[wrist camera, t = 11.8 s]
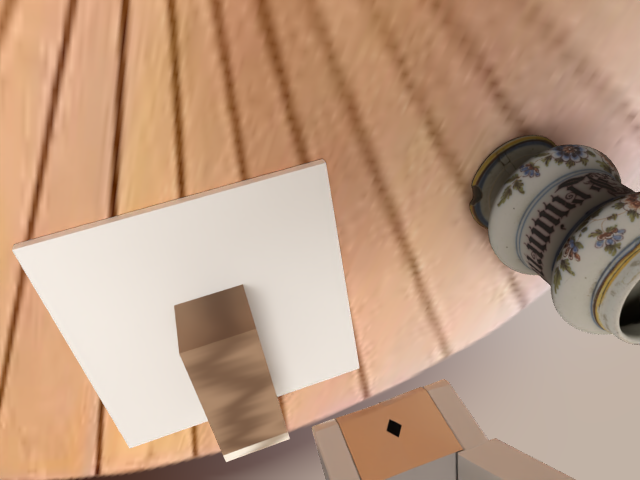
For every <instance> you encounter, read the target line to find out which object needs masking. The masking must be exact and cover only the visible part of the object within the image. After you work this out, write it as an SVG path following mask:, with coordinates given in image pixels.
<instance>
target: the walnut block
mask: <svg viewBox="0 0 640 480" xmlns="http://www.w3.org/2000/svg"><path fill="white" fill-rule="evenodd" d="M174 310H175V320H176V329H177V338H178V348H179V355H180V357H181V359H182V361H183V364H184V366H185V368H186V371H187V373H188V375H189V378H190V380H191V382H192V385H193V387H194V389H195V391H196V394H197V396H198V398H199V401H200V403H201V405H202V408H203V410H204V412H205V415H206V417H207V419H208V421H209V424H210V426H211V428H212V431H213V433H214V435H215V438H216V440H217V442H218V445H219V447H220V449H221V451H222V454H223V456H224V458H225V460H226V462H228V461H230V460H233V459H236V458H238V457H241V456H244V455H247V454H249V453H252V452H255V451H258V450H261V449H263V448H266V447H269V446H271V445H274V444H277V443H280V442H283V441H285V440H288V439H289V435H288V431H287V428H286V425H285V421H284V418H283V415H282V412H281V408H280V405H279V402H278V398H277V395H276V392H275V388H274V385H273V382H272V378H271V375H270V372H269V369H268V365H267V362H266V359H265V355H264V352H263V349H262V346H261V342H260V339H259V336H258V332H257V329H256V326H255V323H254V319H253V316H252V313H251V310H250V306H249V303H248V300H247V296H246V293H245V290H244V287H243V284H242V285H239V286H235V287H232V288H229V289H226V290H223V291H219V292H216V293H213V294H210V295H206V296H203V297H200V298H197V299H193V300H190V301H187V302H184V303H181V304H177V305H174Z"/></svg>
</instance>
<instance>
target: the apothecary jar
mask: <svg viewBox="0 0 640 480" xmlns="http://www.w3.org/2000/svg"><path fill="white" fill-rule="evenodd" d="M472 188H473V193H474V197H473V200H472V201H471V202H470V210H471V213H472V215H473V217H474V219H475V220H476V222H477V223H479V224H480V225H481V226H483V227H485V228H487V229H488V234H489V240H490V243H491V246H492V248H493V250H494V252H495V254H496V255H497V257H498V258H499V259H500V260H501V261H502V262H503V263H504V264H505V265H506V266H508V267H509V268H511V269H513V270H515V271H517V272H520V273H523V274H529V275H539V276H541V277H542V278H543V279H544V280H545V281H546V282H547V283H548V284H549V285H550V286H551V294H552V299H553V303H554V306H555V308H556V310H557V312H558V313H559V314H560V316H561V317H562V318H563V319H564V320H565V321H566V322H567V323H568V324H569V325H571V326H573V327H574V328H576V329H578V330H581V331H584V332H587V333H591V334H613V335H615V336H616V337H617V338H619V339H620V340H622V341H624V342H626V343H630V344H636V345H638V344H640V192H634V191H633V190H631V189H630V188H628V187H626V186H624V185H623V184H621V179H620V176H619V173H618V170H617V169H616V167H615V165H614V164H613V163H612V162H611V160H610V159H609V158H608V157H607V156H606V155H604V154H603V153H601V152H600V151H598V150H596V149H593V148H590V147H587V146H583V145H561V146H556V145H555V144H554V143H553V142H552V141H551V140H549V139H547V138H545V137H542V136H537V135H530V136H523V137H519V138H516V139H513V140H511V141H509V142H507V143H505V144H504V145H502V146H501V147H499V148H498V149H496V150H495V151H494V152H493V153H492V154H491V155H490V156H489V157H488V158H487V159H486V160H485V161H484V162H483V164H482V165H481V167H480V168H479V170H478V171H477V173H476V175H475V178H474V180H473V182H472Z"/></svg>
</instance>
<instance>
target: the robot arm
mask: <svg viewBox="0 0 640 480" xmlns="http://www.w3.org/2000/svg"><path fill="white" fill-rule="evenodd" d="M312 431H313V435H314V438H315V443H316V446H317V451H318V455H319V458H320V462H321V465H322V469H323V472H324V475H325V479H326V480H575V479H574V478H572V477H570V476H568V475H566V474H564V473H562V472H560V471H558V470H556V469H554V468H552V467H550V466H548V465H547V464H545V463H543V462H541V461H539V460H537V459H535V458H533V457H531V456H529V455H527V454H525V453H523V452H521V451H519V450H517V449H515V448H514V447H512V446H510V445H507V444H506V443H504V442H502V441H500V440H498V439H496V438H495V439H492V440H488V438H487V437H486V435H485V434H484V432H483V431H482V429H481V428H480V427H479V425H478V424H477V422H476V421H475V419H474V418H473V416H472V415H471V413H470V412H469V410H468V409H467V408H466V406H465V405H464V403H463V402H462V400H461V399H460V397H459V396H458V395H457V393H456V392H455V390H454V389H453V387H452V386H451V384H450V383H449V382H448V381H446V380H445V379H443V380H440V381H437V382H435V383H432V384H430V385H427V386H424V387H419V388H417V389H414V390H411V391H409V392H406V393H403V394H401V395H398V396H396V397H393V398H390V399H388V400H385V401H383V402H380V403H379V404H377V405H374V406H371V407H368V408H365V409H362V410H359V411H356V412H353V413H350V414H347V415H344V416H341V417H338V418H336V419H332V420H329V421H327V422H324V423H321V424H318V425H315V426H313V427H312Z"/></svg>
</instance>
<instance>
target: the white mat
mask: <svg viewBox="0 0 640 480" xmlns="http://www.w3.org/2000/svg"><path fill="white" fill-rule="evenodd" d="M12 251H13V253H14V254H15V256H16V258H17V259H18V261H19V263H20V264H21V266H22V268H23V269H24V271H25V273H26V274H27V276H28V278H29V279H30V281H31V283H32V285H33V286H34V288H35V290H36V291H37V293H38V295H39V296H40V298H41V300H42V301H43V303H44V305H45V306H46V308H47V310H48V311H49V313H50V315H51V317H52V318H53V320H54V322H55V323H56V325H57V327H58V328H59V330H60V332H61V333H62V335H63V337H64V338H65V340H66V342H67V343H68V345H69V347H70V349H71V350H72V352H73V354H74V355H75V357H76V359H77V360H78V362H79V364H80V365H81V367H82V369H83V370H84V372H85V374H86V375H87V377H88V379H89V381H90V382H91V384H92V386H93V387H94V389H95V391H96V392H97V394H98V396H99V397H100V399H101V401H102V402H103V404H104V406H105V407H106V409H107V411H108V413H109V414H110V416H111V418H112V419H113V421H114V423H115V424H116V426H117V428H118V429H119V431H120V433H121V434H122V436H123V438H124V439H125V441H126V443H127V445H128V446H129V448H132V447H135V446H138V445H141V444H144V443H146V442H149V441H152V440H155V439H158V438H161V437H164V436H167V435H169V434H172V433H175V432H178V431H181V430H184V429H187V428H190V427H192V426H195V425H198V424H201V423H204V422H207V421H208V419H207V417H206V415H205V412H204V410H203V408H202V405H201V403H200V401H199V398H198V396H197V394H196V391H195V389H194V387H193V385H192V382H191V380H190V378H189V375H188V373H187V371H186V368H185V366H184V364H183V361H182V359H181V357H180V355H179V348H178V338H177V329H176V320H175V310H174V305H177V304H181V303H184V302H187V301H190V300H193V299H197V298H200V297H203V296H206V295H210V294H213V293H216V292H219V291H223V290H226V289H229V288H232V287H235V286H239V285H242V284H243V287H244V290H245V293H246V296H247V300H248V303H249V306H250V310H251V313H252V316H253V319H254V323H255V326H256V329H257V332H258V336H259V339H260V342H261V346H262V349H263V352H264V355H265V359H266V362H267V365H268V369H269V372H270V375H271V378H272V382H273V385H274V388H275V392H276V395H277V397H279V396H281V395H284V394H287V393H290V392H293V391H296V390H299V389H301V388H304V387H307V386H310V385H313V384H316V383H319V382H322V381H324V380H327V379H330V378H333V377H336V376H339V375H342V374H345V373H347V372H350V371H353V370H356V369H359V362H358V356H357V350H356V344H355V338H354V332H353V326H352V320H351V313H350V307H349V301H348V295H347V289H346V283H345V277H344V271H343V264H342V258H341V252H340V246H339V240H338V234H337V228H336V222H335V216H334V209H333V203H332V197H331V191H330V185H329V179H328V173H327V167H326V162H325V161H324V160H323V159H320V160H317V161H313V162H310V163H306V164H302V165H299V166H295V167H292V168H288V169H284V170H281V171H277V172H274V173H270V174H266V175H263V176H259V177H256V178H252V179H248V180H245V181H241V182H237V183H234V184H230V185H227V186H223V187H219V188H216V189H212V190H209V191H205V192H201V193H198V194H194V195H191V196H187V197H183V198H180V199H176V200H173V201H169V202H165V203H162V204H158V205H155V206H151V207H147V208H144V209H140V210H137V211H133V212H129V213H126V214H122V215H118V216H115V217H111V218H108V219H104V220H100V221H97V222H93V223H90V224H86V225H82V226H79V227H75V228H72V229H68V230H64V231H61V232H57V233H54V234H50V235H46V236H43V237H39V238H36V239H32V240H28V241H25V242H21V243H18V244H14V246H13V249H12Z"/></svg>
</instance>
